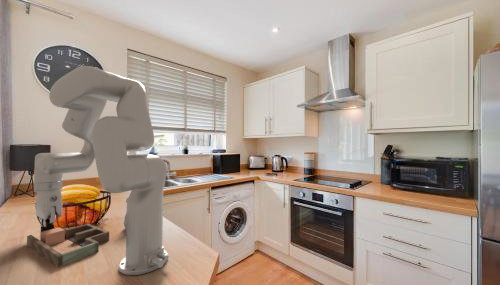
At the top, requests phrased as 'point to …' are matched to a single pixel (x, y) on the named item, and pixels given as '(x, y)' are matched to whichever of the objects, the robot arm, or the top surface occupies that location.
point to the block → (52, 236)
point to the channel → (80, 235)
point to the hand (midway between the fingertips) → (47, 236)
